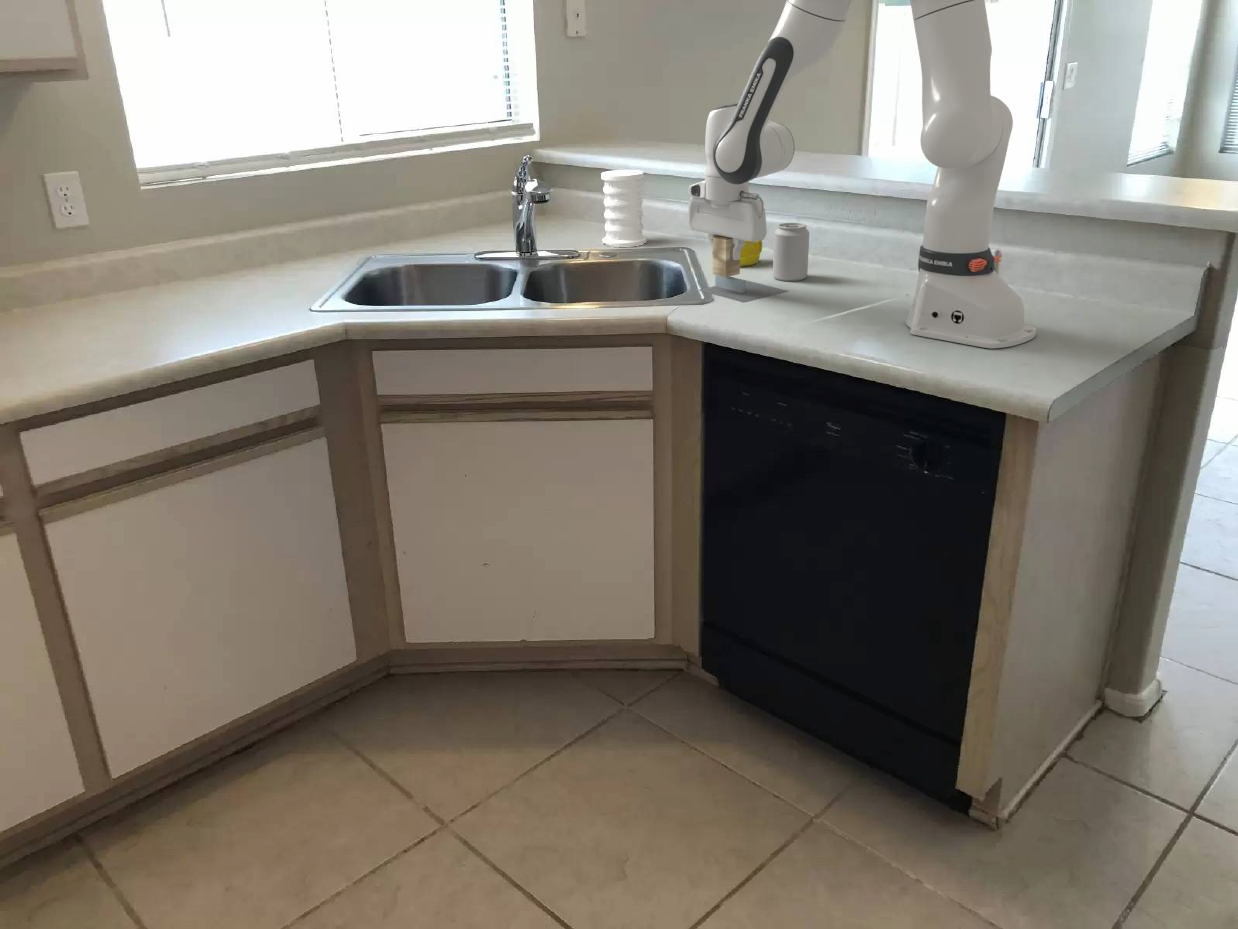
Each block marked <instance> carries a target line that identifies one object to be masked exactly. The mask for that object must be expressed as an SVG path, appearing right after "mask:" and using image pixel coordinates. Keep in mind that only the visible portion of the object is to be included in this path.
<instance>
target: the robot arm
mask: <svg viewBox="0 0 1238 929" xmlns="http://www.w3.org/2000/svg"><path fill="white" fill-rule="evenodd" d="M854 1H855V0H786V1H785V4H784V7H783V10H782V12H781V15H780V17H779V19H778V22H777V24H776V27H775V28H774V30H773V33H772V34H771V36H770V38H769V39H768V41H767V43H766V44H765V46H764V48H763V50H762V52H760V53H761V54H760V55H759V56H758V59H757V61H756V63H755V65H754V67H753V70H752V71H751V74H750V76H749V78H748V80H747V83H746V85H745V87H744V89H743V91H742V94H741V96H740V99H739V101H738V102H737V103H732V104H727V105H721V106H716V107H715V108H712V110H711V111H709V114H708V116H707V120H706V124H705V137H704V138H705V140H704V144H705V145H704V148H705V149H704V152H705V153H704V154H705V156H706V157H705V158H706V169H705V173H704V180H701V181H699V182H697V183H694V184H690V185H689V186H688V192H687V193H688V195H689V196H690V198H689V200H688V206H687V209H688V211H687V215H688V217H687V219H688V222H687V223H688V226H689V228H690V230H692V231H694V232H695V231H696V232H700V233H704V234H708V235H707V236H708V237H707V238H708V241H709V244H710V246H711V248H712V250H711V254H712V255H713V236H715V235H719V236H724V237H729V238H733V244H735V246H734V248H733V251H730V259H732V260H739V259H740V258H741V250H742V248H743V246H744V244H745V241H749V242H757V241H761V240H762V241H763V240H764V239H766V236H767V218H766V216H767V215H766V209H765V203H764V200H763V199H762V197H761V196H760V194H758V193H755V192H750V181H752V180H754V179H757V178H758V179H759V178H762V177H766V176H768V175H772V174H773V175H774V174H776V173H779V172H781V171H783V170H785V169H786V168H787V167H788V166H789V165H790V164H791V162H792V160H793V159H794V158H793V157H794V154H795V141H794V138H793V137H794V136H793V135H792V133H791V131H790V130H789V128H787V127H786V125H784V124H782V123H780V122H779V123H778V122H774V121H771V120H769V119H770V118H771V115H772V113H773V110H774V109H775V106H776V104H777V102H778V100H779V98H780V96H781V94H782V93H783V91H784V90H785V88H786V87H787V85H788V84H789V83H790V82H791V81H793V79H795V78H796V77H797V76H798V75H800V74H802V73H803V72H804V71H806V70H807V69H809V68H811V67H812V66H815V65H817V64H818V63H820V62H821V61H822V60H824V59H825V58H827V56H829V55H830V53H831V51H832V49H833V48H834V47H835V45H836V44H837V42H838V40H839V38H840V37H841V36H840V35H841V34H842V30H844V29H843V28H844V26H845V24H846V21H847V20H848V19H847V18H848V16H849V13H850V10H851V8H852V5H853V2H854ZM909 2H910V5H911V8H910V9H911V14H912V19H913V20H912V21H913V26H914V31H915V39H916V44H917V49H918V56H919V61H920V68H921V82H922V83H921V90H922V92H921V98H922V99H921V107H922V108H921V109H922V111H921V112H922V130H921V133H920V139H919V140H920V148H921V151H922V154H923V156H924V157H925V159H927V161H928V162H930V163H931V164H932V165H934V166H936V167H937V168H936V173H935V176H934V181H933V184H932V187H931V191H930V193H929V194H928V195H929V196H928V198H927V201H926V209H925V210H926V211H925V219H924V227H923V230H924V231H923V240H922V244H921V245H920V247H919V253H918V262H917V266H918V267H917V268H918V276H917V277H918V278H917V282H916V288H915V292H914V296H913V300H912V303H911V306H910V309H909V313H908V314H907V317H906V319H905V324H906V326H908V327H909V330H910V331H909V333H910V334H911V335H913V336H919V337H924V338H930V339H936V340H941V341H945V342H946V341H947V342H951V343H956V344H957V343H958V344H962V345H968V346H972V347H980V348H986V349H1002V348H1008V347H1015V346H1017V345H1020V344H1024V343H1026V342H1028V341H1030V340H1032V339H1034V338H1035V337H1036V336H1037V328H1036V327H1034V326H1031V325H1029V324H1025V311H1024V310H1025V309H1024V308H1025V307H1024V302H1023V300H1022V298H1021V297H1020V295H1018V293H1016V291H1014V290H1013V289H1012V288H1011V287H1010V286H1009V285H1008V284H1007V283H1006V281H1005V280H1003V278H1002V276H1000V275H999V274H998V273H997V271H996V267H995V263H999V262H1000V263H1001V261H1002V259H1001V258H1002V257H1003V256H1002V254H998V255H995V256H994V255H993V253H992V250H991V248H990V239H991V238H990V237H991V230H992V225H993V216H994V209H995V208H994V207H995V201H996V197H997V192H998V189H999V186H1000V182H1001V178H1002V174H1003V170H1004V166H1005V161H1006V157H1007V152H1008V148H1009V142H1010V138H1011V135H1012V132H1013V127H1014V124H1013V123H1014V120H1013V115H1012V114H1013V113H1011V110H1010V108H1009V107H1008V105H1007V104H1006V103H1005V102H1004V101H1002V100H1001V99H1000V98H998V97H996V96H993V95H991V58H992V54H993V53H992V52H993V47H992V42H991V41H992V40H991V33H990V28H989V19H988V15H987V7H986V2H985V0H909Z"/></svg>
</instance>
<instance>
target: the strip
mask: <svg viewBox="0 0 1238 929" xmlns="http://www.w3.org/2000/svg"><path fill="white" fill-rule="evenodd" d="M714 276H715V277H714V278H715V280H714V281H715V284H714V286H718V287H721V288H725V289H729V290H733V291H737V292H740V293H742V292H745V280H746V279H742V278H739V277H734V276H729V277H722V276H718V275H714Z"/></svg>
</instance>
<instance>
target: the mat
mask: <svg viewBox="0 0 1238 929" xmlns="http://www.w3.org/2000/svg"><path fill="white" fill-rule="evenodd" d="M744 280H745V292H742V293H740V292H737V291H733V290H729V289H725V288H721V287H718V286H715V285H713V286H710V287H705V288H701V289H698V291H699V292H704V293H708V294H711V295H714V296H717V297H722V298H725V299H729V300H732V301H737V302H740V303H744V304H745V303H749V302H752V301H756V300H760V299H763V298H768V297H771V296H776V295H780V294H783V293H787V292H789V290H787V289H783V288H779V287H775V286H771V285H766V284H762V283H758V282H754V281H750V280H746V279H744Z"/></svg>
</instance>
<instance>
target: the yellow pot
mask: <svg viewBox="0 0 1238 929" xmlns="http://www.w3.org/2000/svg"><path fill="white" fill-rule="evenodd" d="M762 251H763V240H761V241H757V242H749V241H745V244H744V246H743V248H742V250H741V258H740V268H743V267H744V268H745V267H748V266H749V267H750V266H752V265H755V264H757V263H758V262H759V260H760V258H761V257H760V256H761V253H762Z"/></svg>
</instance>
